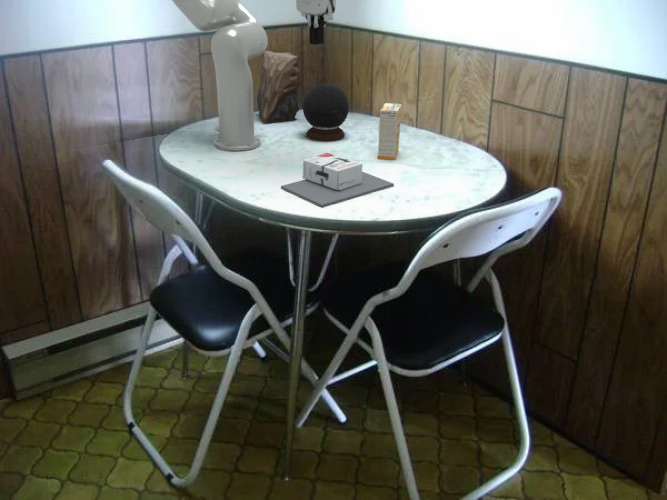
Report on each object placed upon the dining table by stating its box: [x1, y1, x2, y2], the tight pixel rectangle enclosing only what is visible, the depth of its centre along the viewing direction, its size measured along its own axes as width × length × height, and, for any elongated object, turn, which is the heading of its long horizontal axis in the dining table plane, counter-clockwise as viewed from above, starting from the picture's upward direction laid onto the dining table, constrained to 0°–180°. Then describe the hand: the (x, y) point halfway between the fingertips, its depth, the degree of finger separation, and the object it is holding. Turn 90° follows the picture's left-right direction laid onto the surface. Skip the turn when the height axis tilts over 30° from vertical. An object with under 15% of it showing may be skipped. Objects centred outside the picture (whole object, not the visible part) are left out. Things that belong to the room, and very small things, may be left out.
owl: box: [256, 50, 301, 125], centre depth 214 cm, size 13×13×20 cm
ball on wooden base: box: [302, 83, 350, 143], centre depth 198 cm, size 13×13×15 cm
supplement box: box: [377, 102, 402, 160], centre depth 183 cm, size 8×5×13 cm, turn 168°
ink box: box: [302, 152, 363, 190], centre depth 164 cm, size 8×5×12 cm
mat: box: [280, 171, 395, 208], centre depth 163 cm, size 15×22×1 cm
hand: (316, 43), depth 170 cm, fingers closed
